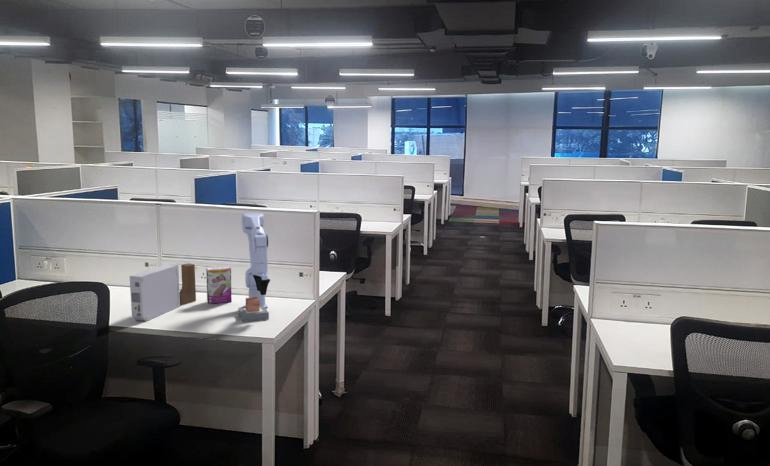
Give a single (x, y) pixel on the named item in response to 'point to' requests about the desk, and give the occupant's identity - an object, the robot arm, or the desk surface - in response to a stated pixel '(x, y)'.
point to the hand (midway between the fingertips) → (261, 292)
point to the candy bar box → (218, 285)
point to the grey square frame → (253, 314)
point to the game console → (154, 292)
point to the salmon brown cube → (252, 304)
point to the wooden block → (188, 284)
